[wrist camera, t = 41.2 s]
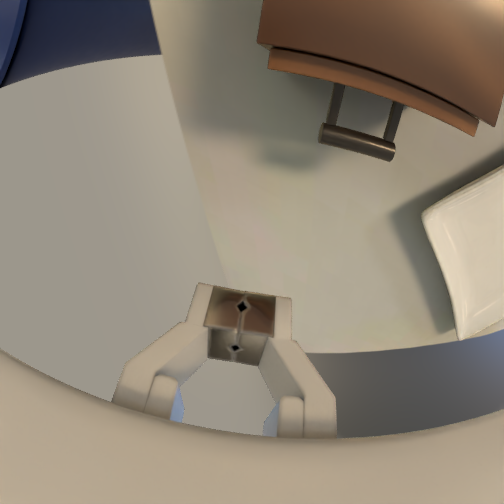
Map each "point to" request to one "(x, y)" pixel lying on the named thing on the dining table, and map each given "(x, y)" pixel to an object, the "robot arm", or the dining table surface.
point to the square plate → (471, 250)
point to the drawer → (373, 84)
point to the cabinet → (403, 43)
